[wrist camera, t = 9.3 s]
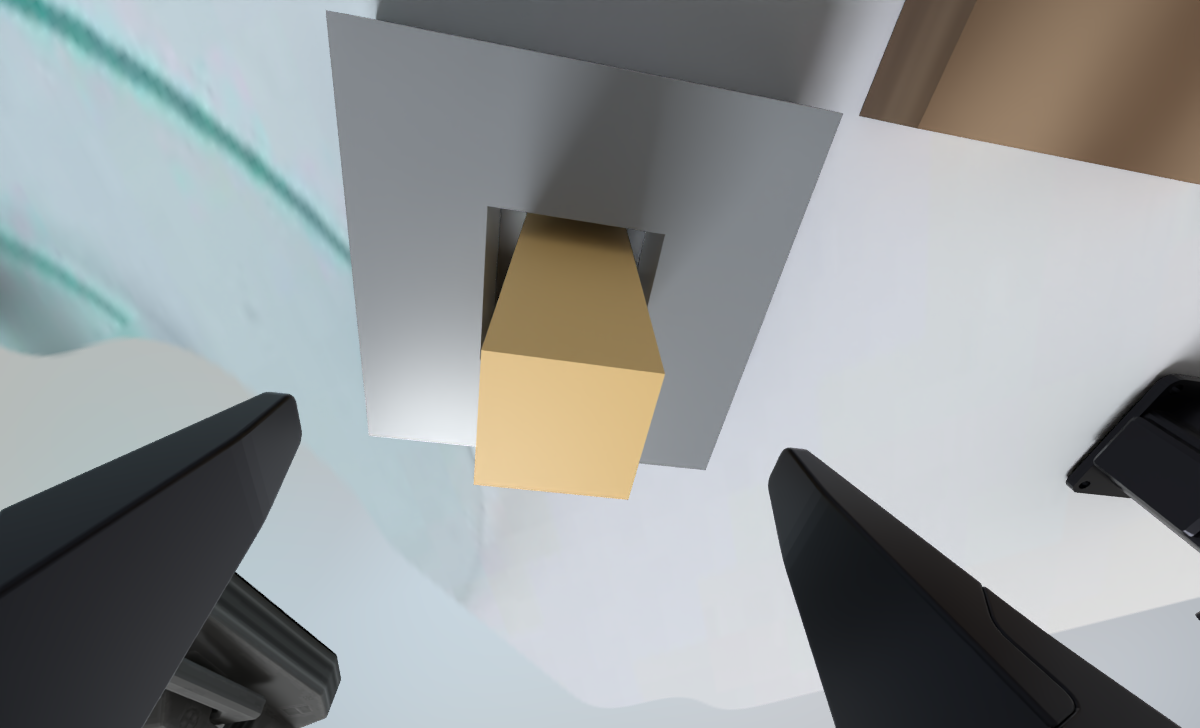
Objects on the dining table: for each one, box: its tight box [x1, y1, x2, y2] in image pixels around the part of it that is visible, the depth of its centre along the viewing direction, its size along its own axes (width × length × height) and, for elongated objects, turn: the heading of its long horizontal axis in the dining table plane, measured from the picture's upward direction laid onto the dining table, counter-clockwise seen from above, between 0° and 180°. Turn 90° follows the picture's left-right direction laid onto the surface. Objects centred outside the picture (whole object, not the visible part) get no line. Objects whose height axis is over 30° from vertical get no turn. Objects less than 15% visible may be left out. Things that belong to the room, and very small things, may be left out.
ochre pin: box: [474, 212, 665, 500], centre depth 13 cm, size 3×3×9 cm
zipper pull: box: [142, 572, 341, 728], centre depth 22 cm, size 9×7×25 cm
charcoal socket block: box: [326, 10, 843, 470], centre depth 16 cm, size 12×12×3 cm
